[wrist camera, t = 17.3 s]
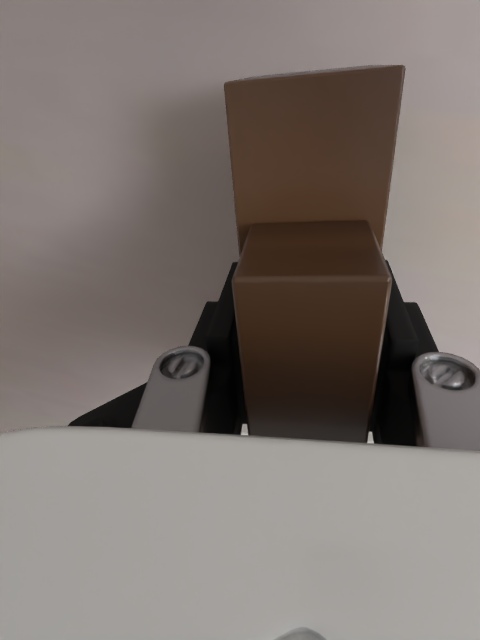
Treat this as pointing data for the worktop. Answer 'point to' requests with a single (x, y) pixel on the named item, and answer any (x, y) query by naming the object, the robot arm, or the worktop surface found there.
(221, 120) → the worktop surface
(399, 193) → the worktop surface
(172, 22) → the worktop surface
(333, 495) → the robot arm
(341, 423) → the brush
